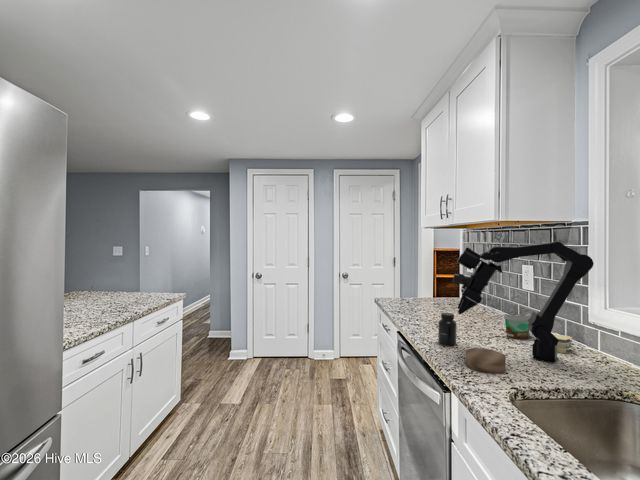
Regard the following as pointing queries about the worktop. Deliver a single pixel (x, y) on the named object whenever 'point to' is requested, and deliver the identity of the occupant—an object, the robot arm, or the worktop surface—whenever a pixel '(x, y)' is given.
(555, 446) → the worktop surface
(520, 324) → the food container
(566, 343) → the stacked layers on plate
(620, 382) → the worktop surface
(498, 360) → the walnut plinth
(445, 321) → the supplement bottle
